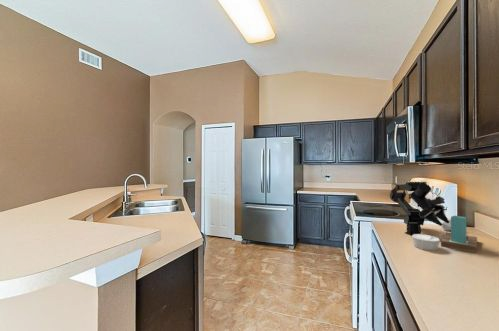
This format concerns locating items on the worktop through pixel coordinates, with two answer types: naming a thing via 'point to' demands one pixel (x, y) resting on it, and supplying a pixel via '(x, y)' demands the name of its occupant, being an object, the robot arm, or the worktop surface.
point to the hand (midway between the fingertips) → (445, 224)
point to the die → (446, 225)
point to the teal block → (458, 229)
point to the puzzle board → (467, 246)
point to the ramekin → (425, 242)
